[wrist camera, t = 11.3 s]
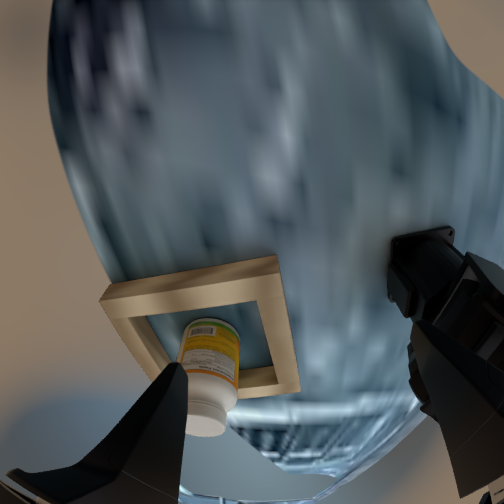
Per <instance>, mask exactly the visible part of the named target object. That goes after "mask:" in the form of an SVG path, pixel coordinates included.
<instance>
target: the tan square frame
mask: <svg viewBox="0 0 504 504" xmlns="http://www.w3.org/2000/svg"><path fill="white" fill-rule="evenodd" d="M255 300H257V304H258V308H259V312H260V316H261V319H262V323H263V327H264V331H265V334H266V338H267V342H268V346H269V349H270V353H271V357H272V361H273V364H274V366H269V367H262V368H254V369H245V370H239V374H238V393H237V399H244V398H255V397H264V396H272V395H280V394H287V393H294V392H300V391H301V389H300V381H299V373H298V367H297V361H296V356H295V350H294V344H293V338H292V333H291V327H290V321H289V316H288V310H287V305H286V299H285V294H284V289H283V283H282V278H281V273H280V268H279V262H278V257H277V255H273V256H268V257H262V258H257V259H251V260H246V261H240V262H235V263H229V264H223V265H218V266H212V267H207V268H201V269H195V270H190V271H184V272H178V273H173V274H167V275H161V276H155V277H150V278H144V279H138V280H132V281H126V282H121V283H115V284H110V285H109V286H108V288H107V289H106V291H105V292H104V294H103V295H102V297H101V298H100V300H99V302H100V304H101V306H102V308H103V309H104V311H105V313H106V314H107V316H108V318H109V319H110V321H111V323H112V324H113V326H114V328H115V329H116V331H117V332H118V334H119V336H120V337H121V339H122V340H123V342H124V343H125V345H126V346H127V348H128V349H129V351H130V352H131V354H132V355H133V356H134V358H135V359H136V361H137V362H138V364H139V365H140V366H141V368H142V369H143V371H144V372H145V373H146V375H147V376H148V377H149V379H150V380H151V381H152V382H153V381H154V380H155V379H156V378H157V376H158V375H159V374H160V373H161V372H162V371H163V369H164V368H165V367H166V366H167V365H168V364H169V363H171V362H172V361H171V360H170V358H169V356H168V355H167V353H166V351H165V350H164V348H163V346H162V345H161V343H160V341H159V340H158V338H157V336H156V334H155V333H154V331H153V329H152V327H151V326H150V324H149V322H148V320H147V318H146V317H145V315H154V314H162V313H171V312H179V311H187V310H194V309H202V308H209V307H216V306H223V305H229V304H236V303H243V302H249V301H255Z"/></svg>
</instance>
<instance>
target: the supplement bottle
mask: <svg viewBox="0 0 504 504" xmlns="http://www.w3.org/2000/svg"><path fill="white" fill-rule="evenodd" d="M239 356H240V338H239V335H238V333H237V331H236V330H235V329H234V328H233V327H232V326H231V325H230V324H228V323H226V322H224V321H222V320H219V319H214V318H202V319H197V320H195V321H193V322H191V323H190V324H189V325H188V326H187V327H186V329H185V330H184V333H183V337H182V340H181V344H180V348H179V352H178V356H177V360H176V362H179V363H181V365H182V367H183V368H184V370H185V371H186V373H187V375H188V415H187V423H186V431H185V433H187V434H190V435H194V436H200V437H212V436H218V435H220V434H222V433H224V431H225V429H226V417H227V414H226V413H227V412H229V411H230V410H231V409H232V408H233V407H234V406H235V404H236V401H237V393H238V374H239Z"/></svg>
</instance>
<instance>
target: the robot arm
mask: <svg viewBox="0 0 504 504" xmlns="http://www.w3.org/2000/svg"><path fill="white" fill-rule="evenodd" d="M449 232H450V233H449ZM454 234H455V230H454V229H453V228H452V227H451V226H447V227H442V228H437V229H432V230H427V231H422V232H417V233H412V234H407V235H402V236H397V237H395V238H393V240H392V242H391V262H390V263H389V265H388V280H387V289H388V299H389V300H390V302H392V303H393V302H396V304H397V306H398V307H399V309H400V311H401V313H402V314H403V316H404V317H405V318H409V317H410V318H411V320H412V322H413V326H412V331H411V335H410V340H411V342H410V343H409V345H408V346H407V349H408V357H409V365H408V366H409V371H410V377H411V378H410V379H409V385H410V387H411V389H412V391H413V392H414V394H415V396H416V397H417V399H418V400H419V401H420V402H421V403H422V404H423V405H422V406H421V407H420V410H421V411H422V412H424V413H425V414H427V415H429V416H431V417H432V418H433V419H434V420H435V421H437V422H438V423H439V425H440V427H441V431H442V434H443V437H444V440H445V443H446V447H447V450H448V453H449V456H450V460H451V464H452V468H453V472H454V476H455V479H456V484H457V488H458V492H459V496H460V499H461V498H463V497H465V496H467V495H469V494H471V493H473V492H475V491H477V490H479V489H481V488H483V487H484V486H486V485H488V487H489V491H488V492H486V493H485V494H484V495H483V496H482V499H481V501H480V502H479V504H504V270H503V269H502V268H501V267H499V266H498V265H497V264H495V263H492V262H490V261H488V260H486V259H484V258H481V257H479V256H477V255H475V254H472V253H470V252H468V251H467V252H466V254H465V256H464V255H462V254H461V253H460V252H459V251H458V250H457V249H456V248H455V247H454V246H453V242H454ZM397 242H399V243H398V244H397V245H396V243H397ZM392 297H393V298H392ZM187 415H188V375H187V373H186V371H185V370H184V368H183V367H182V365H181V363H179V362H171V363H169V364H168V365H167V366H166V367H165V368H164V369H163V371H162V372H161V373H160V374H159V375H158V376H157V378H156V379H155V380H154V381H153V382H152V384H151V385H150V386H149V387H148V388H147V390H146V391H145V392H144V393H143V394H142V395H141V397H140V398H139V399H138V400H137V401H136V402H135V404H134V405H133V406H132V407H131V408H130V409H129V411H128V412H127V413H126V414H125V415H124V417H123V418H122V419H121V420H120V421H119V423H118V424H117V425H116V426H115V427H114V428H113V429H112V430H111V431H110V433H109V434H108V435H107V436H106V437H105V438H104V439H103V440H102V441H101V442H100V443H99V444H98V445H97V446H96V447H95V448H94V449H92V450H91V452H89V453H88V454H87V455H86V456H85V457H84V458H83V459H82V460H80V461H79V462H78V463H76V464H74V465H72V466H70V467H65V468H61V469H55V470H50V471H44V472H38V473H27V472H24V471H23V470H21V469H19V468H16V469H12V470H10V471H8V472H7V473H6V476H8V477H9V478H10V479H12V480H13V481H15V482H16V483H18V484H19V485H21V486H22V487H24V488H25V489H27V490H28V491H30V492H31V493H33V494H35V495H36V496H37V500H34V499H32V498H30V497H28V496H27V495H25V494H23V493H21V492H19V491H18V490H16V489H14V488H13V487H11V486H9V485H8V484H6V483H4V482H3V481H1V480H0V504H178V496H179V486H180V475H181V466H182V456H183V448H184V439H185V431H186V423H187Z"/></svg>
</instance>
